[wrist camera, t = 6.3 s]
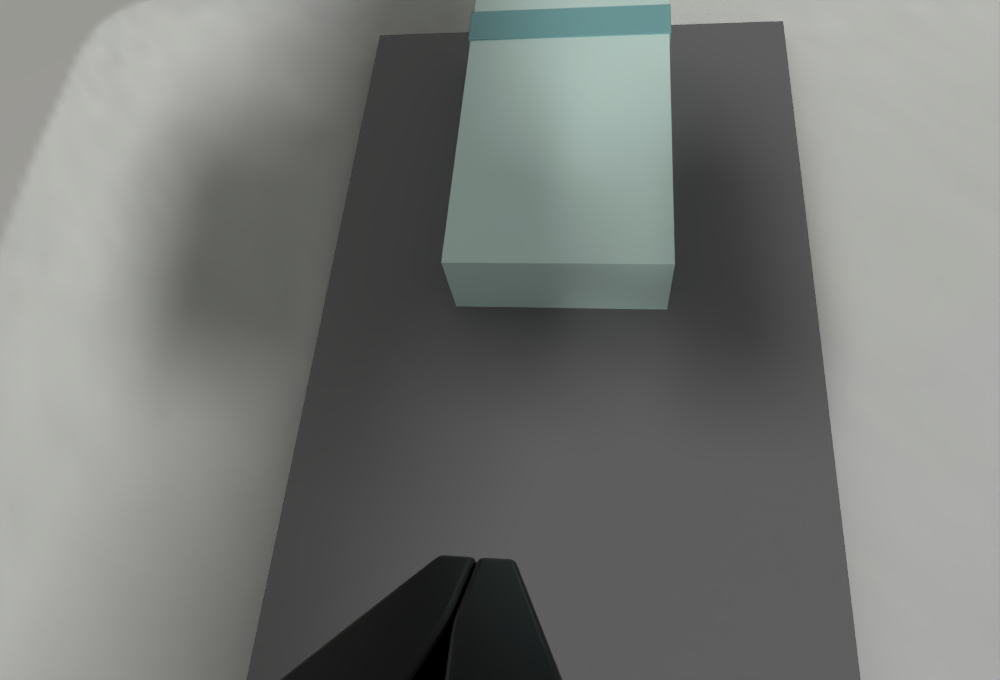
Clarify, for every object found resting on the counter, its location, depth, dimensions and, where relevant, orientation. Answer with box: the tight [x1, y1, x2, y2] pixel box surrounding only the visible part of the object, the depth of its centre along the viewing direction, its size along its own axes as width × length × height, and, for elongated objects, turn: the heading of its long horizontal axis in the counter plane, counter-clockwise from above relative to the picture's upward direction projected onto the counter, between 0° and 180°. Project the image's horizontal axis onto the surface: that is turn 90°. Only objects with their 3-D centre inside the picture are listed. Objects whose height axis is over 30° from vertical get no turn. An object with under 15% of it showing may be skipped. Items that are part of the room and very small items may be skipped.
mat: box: [247, 21, 860, 680], centre depth 21 cm, size 24×14×1 cm, turn 175°
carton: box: [441, 0, 675, 310], centre depth 23 cm, size 2×6×10 cm
